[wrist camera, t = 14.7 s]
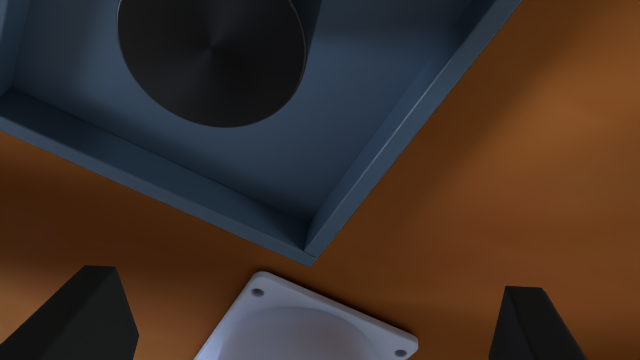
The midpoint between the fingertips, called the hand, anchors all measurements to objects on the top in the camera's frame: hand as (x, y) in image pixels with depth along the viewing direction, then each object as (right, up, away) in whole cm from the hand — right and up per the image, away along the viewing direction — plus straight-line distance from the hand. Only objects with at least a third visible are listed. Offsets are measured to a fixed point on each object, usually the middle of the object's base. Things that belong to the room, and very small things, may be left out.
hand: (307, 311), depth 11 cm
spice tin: (-2, +8, +5) cm, 10 cm away
